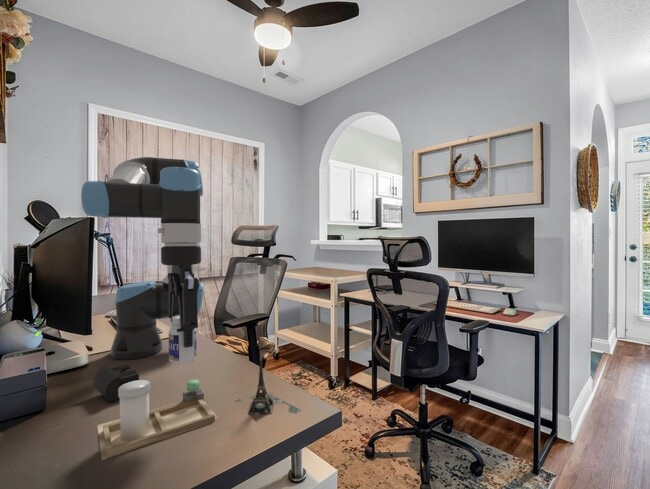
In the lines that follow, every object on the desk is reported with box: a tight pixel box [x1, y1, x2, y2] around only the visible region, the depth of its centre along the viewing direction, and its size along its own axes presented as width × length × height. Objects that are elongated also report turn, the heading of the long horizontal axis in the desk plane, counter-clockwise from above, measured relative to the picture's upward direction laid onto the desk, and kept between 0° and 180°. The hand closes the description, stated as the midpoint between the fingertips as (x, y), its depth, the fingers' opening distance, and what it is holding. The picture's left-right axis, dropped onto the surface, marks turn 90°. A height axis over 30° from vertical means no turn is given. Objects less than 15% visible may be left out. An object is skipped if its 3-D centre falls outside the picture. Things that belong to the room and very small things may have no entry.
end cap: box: [92, 364, 140, 404], centre depth 80 cm, size 10×7×7 cm
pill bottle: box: [168, 315, 198, 364], centre depth 68 cm, size 5×5×9 cm
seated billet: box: [118, 379, 151, 442], centre depth 63 cm, size 5×5×9 cm
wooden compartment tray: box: [96, 387, 220, 461], centre depth 67 cm, size 13×20×3 cm, turn 127°
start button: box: [186, 379, 200, 394], centre depth 76 cm, size 3×3×4 cm
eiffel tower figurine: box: [234, 355, 301, 416], centre depth 75 cm, size 15×10×13 cm
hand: (183, 357), depth 68 cm, fingers closed on pill bottle, 5 cm apart
